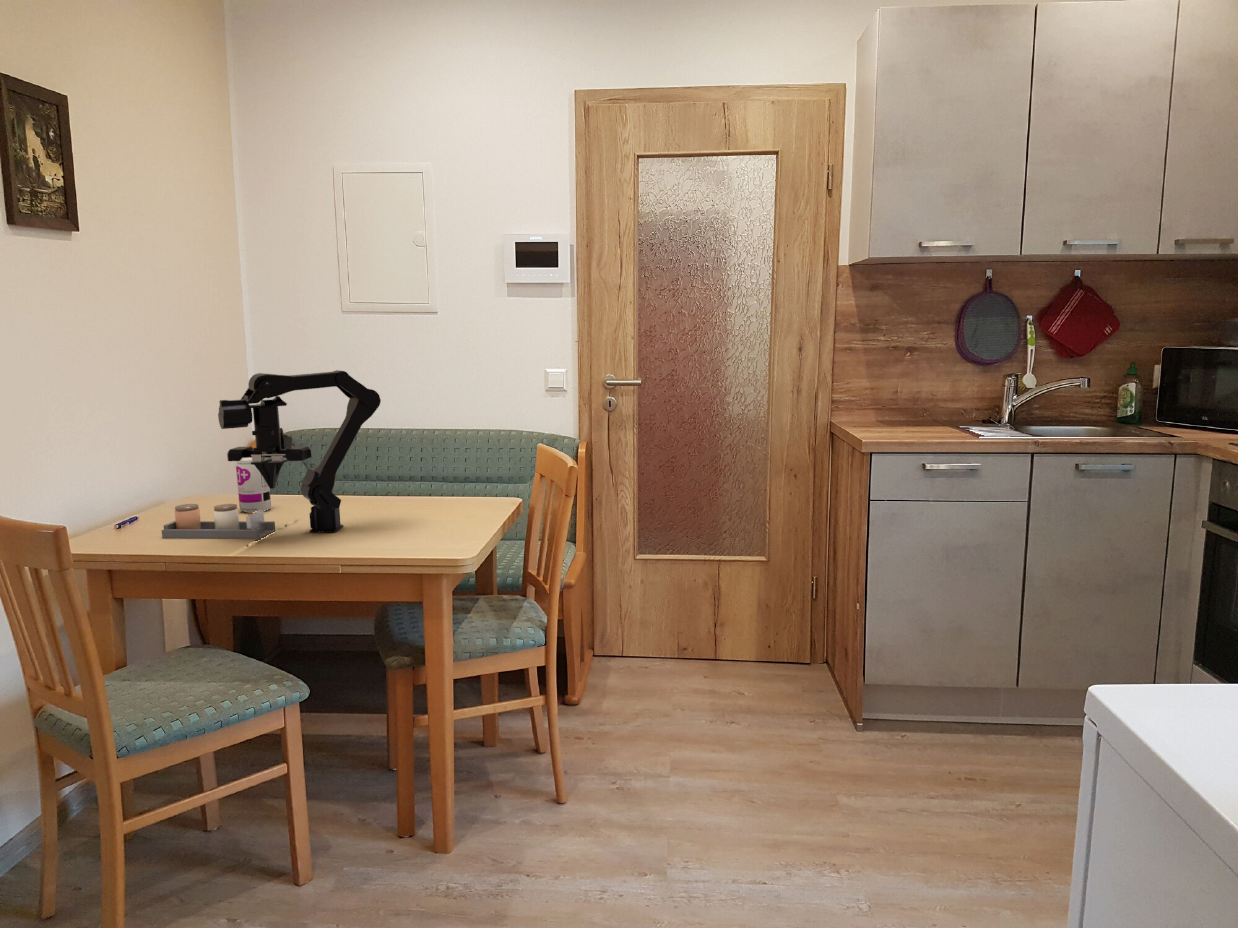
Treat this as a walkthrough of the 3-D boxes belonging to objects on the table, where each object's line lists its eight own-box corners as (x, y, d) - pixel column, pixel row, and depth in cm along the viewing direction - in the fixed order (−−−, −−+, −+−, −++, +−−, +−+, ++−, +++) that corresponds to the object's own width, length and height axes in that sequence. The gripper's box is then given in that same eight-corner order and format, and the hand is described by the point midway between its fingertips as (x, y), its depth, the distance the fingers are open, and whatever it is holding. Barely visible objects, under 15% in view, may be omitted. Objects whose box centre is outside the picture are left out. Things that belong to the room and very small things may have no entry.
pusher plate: (265, 529, 214) (263, 510, 213) (251, 536, 207) (250, 516, 207) (261, 529, 214) (259, 510, 213) (247, 536, 207) (246, 516, 207)
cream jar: (244, 530, 214) (241, 503, 213) (232, 536, 208) (230, 508, 207) (223, 530, 214) (220, 503, 213) (211, 536, 209) (208, 508, 208)
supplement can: (250, 515, 236) (245, 461, 233) (234, 511, 241) (229, 459, 238) (277, 509, 242) (272, 457, 240) (261, 506, 247) (256, 455, 245)
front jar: (206, 530, 215) (203, 503, 213) (193, 536, 209) (191, 508, 208) (185, 530, 215) (182, 503, 214) (172, 536, 210) (169, 508, 208)
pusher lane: (275, 532, 215) (274, 517, 215) (257, 542, 206) (256, 526, 205) (184, 532, 217) (183, 517, 216) (162, 542, 208) (161, 526, 207)
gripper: (318, 421, 213) (322, 481, 216) (246, 421, 214) (252, 482, 217) (298, 426, 202) (303, 490, 205) (223, 427, 203) (229, 491, 206)
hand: (272, 488), depth 209 cm, fingers closed
